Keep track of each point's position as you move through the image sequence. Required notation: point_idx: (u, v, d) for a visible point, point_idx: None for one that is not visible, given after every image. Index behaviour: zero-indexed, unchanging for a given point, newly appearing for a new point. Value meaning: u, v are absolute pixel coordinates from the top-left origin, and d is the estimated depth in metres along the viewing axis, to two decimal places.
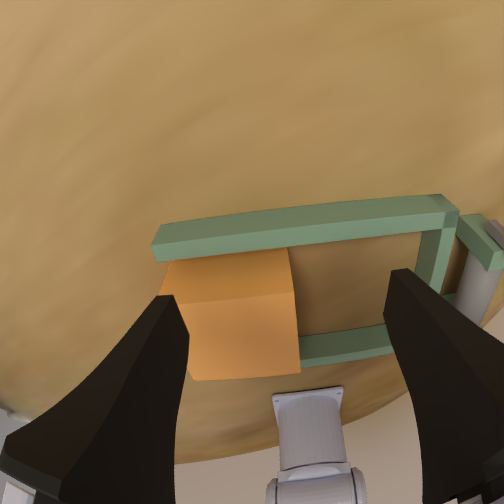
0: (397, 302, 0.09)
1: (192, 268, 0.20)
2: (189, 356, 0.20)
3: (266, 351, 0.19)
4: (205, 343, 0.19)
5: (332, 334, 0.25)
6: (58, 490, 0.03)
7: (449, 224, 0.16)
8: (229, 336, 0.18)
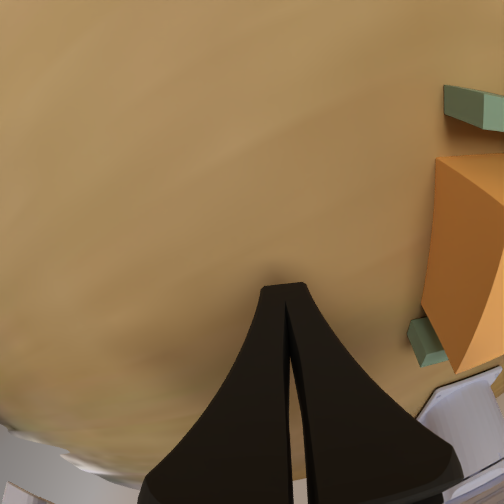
0: (286, 317, 0.09)
1: (487, 166, 0.09)
2: (488, 325, 0.09)
3: None
4: None
5: None
6: None
7: None
8: None
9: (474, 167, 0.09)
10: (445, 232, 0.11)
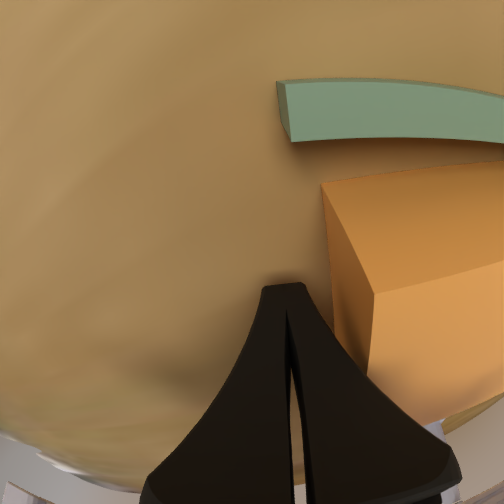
0: None
1: (396, 196, 0.07)
2: None
3: None
4: (438, 372, 0.06)
5: None
6: None
7: None
8: (490, 344, 0.06)
9: (371, 199, 0.07)
10: (337, 283, 0.09)
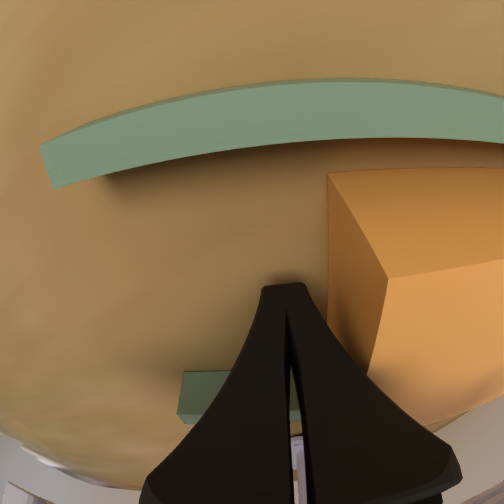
0: None
1: (404, 190, 0.07)
2: None
3: None
4: (437, 371, 0.06)
5: None
6: None
7: None
8: (489, 346, 0.06)
9: (379, 191, 0.07)
10: (336, 276, 0.09)
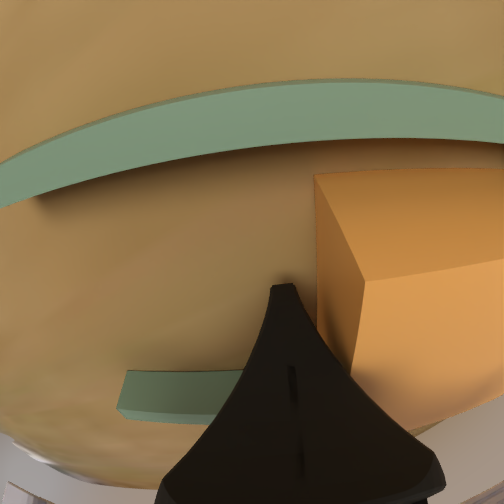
0: None
1: (390, 191, 0.07)
2: None
3: (500, 368, 0.07)
4: (423, 374, 0.06)
5: None
6: None
7: None
8: (479, 349, 0.06)
9: (364, 192, 0.07)
10: (323, 278, 0.09)
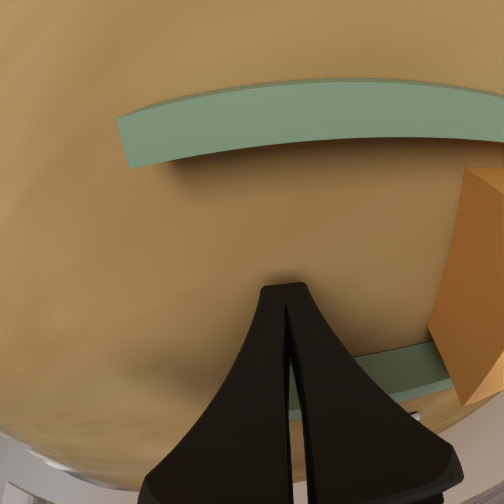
0: (286, 317, 0.09)
1: None
2: None
3: None
4: None
5: None
6: None
7: None
8: None
9: None
10: (468, 253, 0.09)
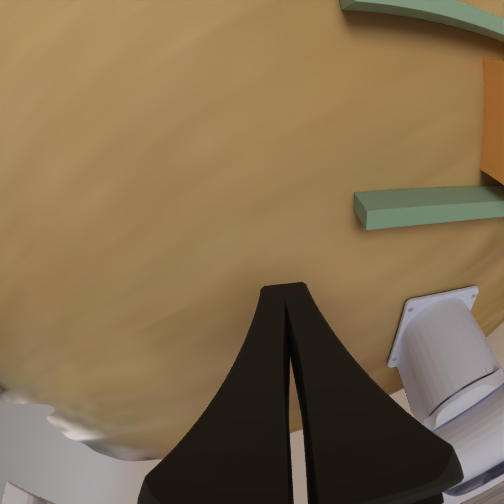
0: (286, 318, 0.09)
1: None
2: None
3: None
4: None
5: (490, 187, 0.16)
6: None
7: None
8: None
9: None
10: (495, 101, 0.12)
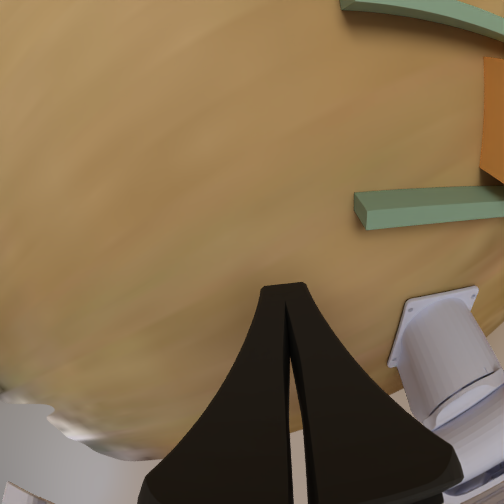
0: (286, 318, 0.09)
1: None
2: None
3: None
4: None
5: (490, 187, 0.16)
6: None
7: None
8: None
9: None
10: (495, 99, 0.12)
